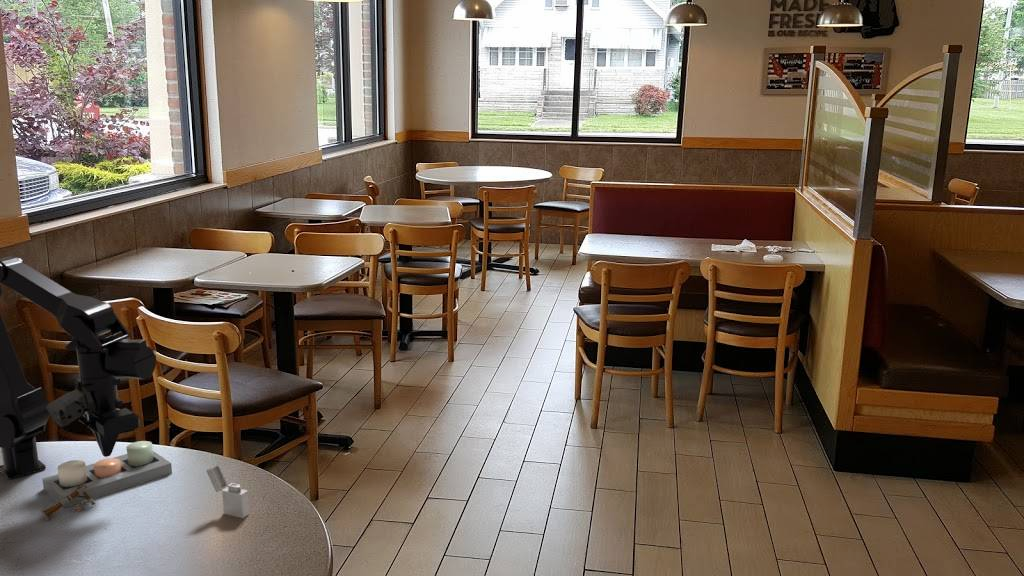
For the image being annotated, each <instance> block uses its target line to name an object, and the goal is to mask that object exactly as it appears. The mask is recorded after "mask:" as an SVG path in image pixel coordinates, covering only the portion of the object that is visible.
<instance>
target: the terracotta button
mask: <svg viewBox="0 0 1024 576" xmlns="http://www.w3.org/2000/svg"><path fill="white" fill-rule="evenodd" d="M93 464H94V463H93ZM94 471H95V476H96V477H97V478H98V479H102V478H105V477H109V476H112V475H115V474H118V473H122V471H121V462H120V460H119V459H117V458H114V457H107V458H103V459H99V460H98V461H96V462H95V464H94Z"/></svg>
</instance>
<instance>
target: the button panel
mask: <svg viewBox="0 0 1024 576" xmlns="http://www.w3.org/2000/svg"><path fill="white" fill-rule="evenodd" d="M113 458H117V459H119V460H120V462H121V471H122V473H118V474H115V475H112V476H109V477H105V478H102V479H98V478H97V477H96V476H95V471H94V464H95V463H96V462H95V463H91V464H88V465H86V473H87V481H86V482H84V483H82V484H83V485H85V484H88V485H89V487H88V488H87V490H86V491H85V492H86V493H87V494H88V495H89V496H90V497H91V498H92V499H93V500H94V499H95V498H99V497H102V496H105V495H109V494H111V493H114V492H118V491H121V490H124V489H126V488H130V487H132V486H136V485H139V484H142V483H145V482H148V481H152V480H154V479H157V478H160V477H164V476H167V475H170V474H172V473H173V468H172V462H170V461H169V460H168V459H166V458H165V457H163V456H161V455H160V454H158V453H157V452H156V451H154V450H153V458H154V459H153V461H152V462H150V463H148V464H145V465H140V466H132V465H129V464H128V457H127V453H125V454H121V455H118V456H114V457H113ZM41 479H42V487H43V491H45V492H47V494H48V495H50V496H51V497H52V498H53V499H54V500H55V501H56V502H57V503H58V502H60V500H62V499H63V498H64V497H65V496H66V497H67V496H68V494H69V495H70V494H71V493H73V492H74V491H75V490H76V488H77V486H78V485H77V486H72V487H64V486H61V485H60V483H59V476H58V473H57V474H54V475H49V476H46V477H44V478H43V477H42V478H41ZM82 484H80V486H81V485H82ZM67 488H68V489H67ZM79 496H84V494H83V493H82V494H81V495H80V494H79ZM86 501H87V502H88V500H87V499H86V498H81V497H75V498H74V499H73V501H70V503H68V504H67V505H65V506H63V507H62V508H67V507H70V506H73V505H74V506H75V505H78V504H80V503H84V502H86ZM79 502H80V503H79Z"/></svg>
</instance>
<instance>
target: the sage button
mask: <svg viewBox="0 0 1024 576" xmlns="http://www.w3.org/2000/svg"><path fill="white" fill-rule="evenodd" d="M153 449H154V447H153V443H152V441H150V440H149V441H147V440H140V441H134V442H132V443H129V444H128V445H127V446H126V454H127V457H128V464H129V465H132V466H137V467H141V466H144V465H147V464H151V463H150V462H152V461H153V459H154V458H153V451H154V450H153Z"/></svg>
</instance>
